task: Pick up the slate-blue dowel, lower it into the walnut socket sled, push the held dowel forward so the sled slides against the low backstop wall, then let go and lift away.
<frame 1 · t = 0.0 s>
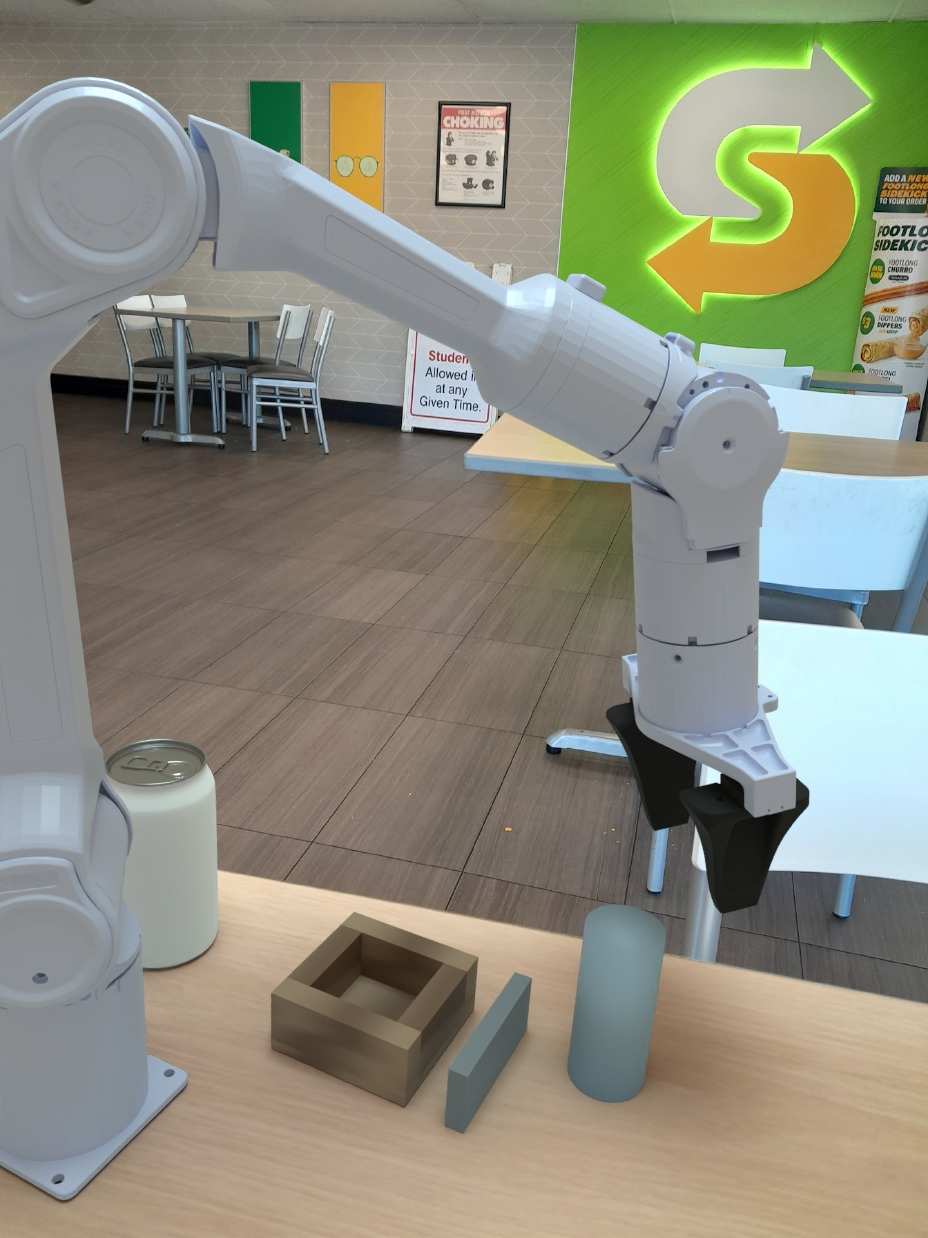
hand: (700, 862, 52), 11 cm above the table, tool pointing down, fingers open, 7 cm apart
dowel: (605, 1074, 52), on the table
backstop wall: (488, 1076, 51), on the table
can: (163, 941, 60), on the table
socket sled: (377, 1001, 53), point 2 cm above the table, slide at 0.0 cm
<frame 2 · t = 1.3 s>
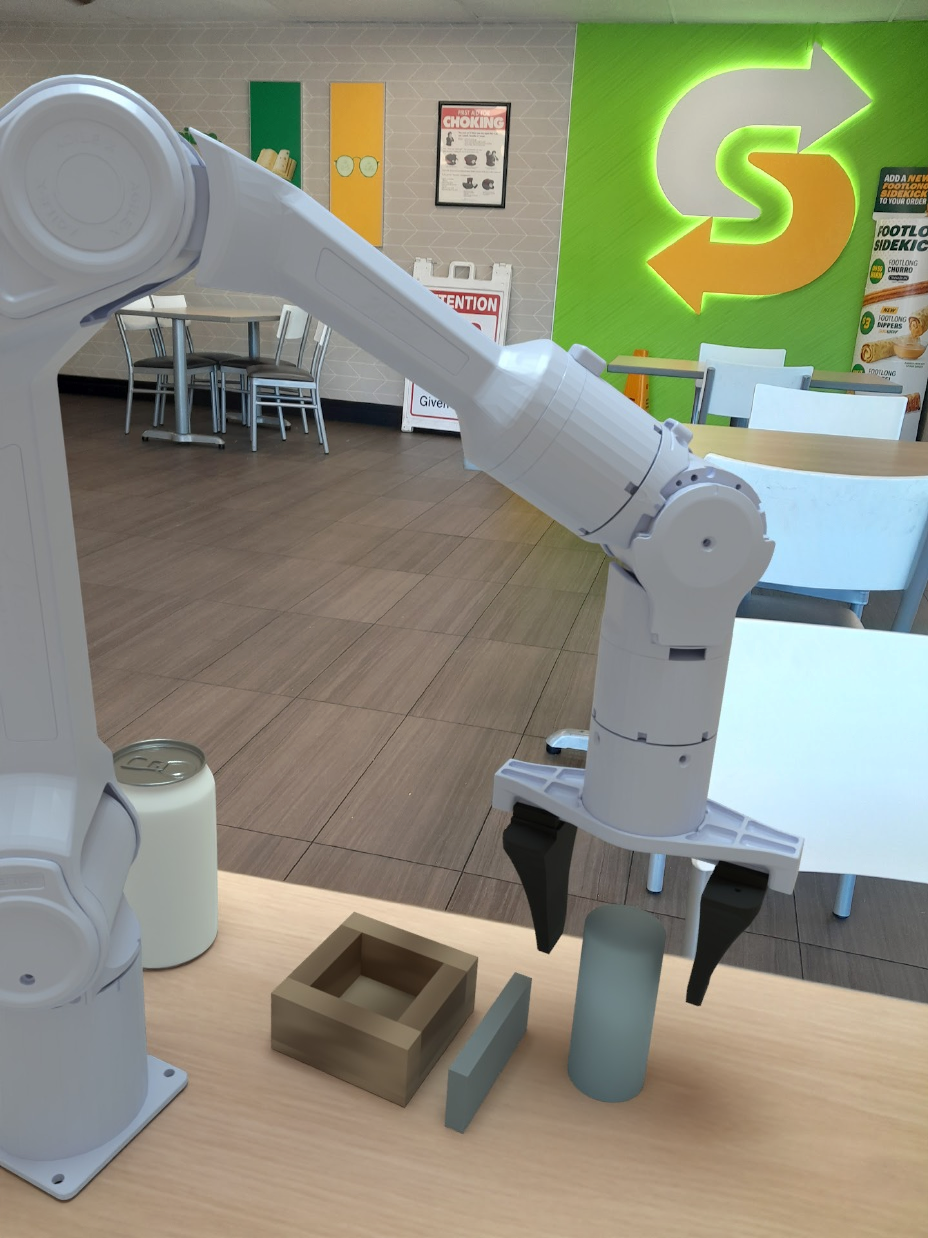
hand: (621, 966, 50), 7 cm above the table, tool pointing down, fingers open, 7 cm apart
nothing on the table moved.
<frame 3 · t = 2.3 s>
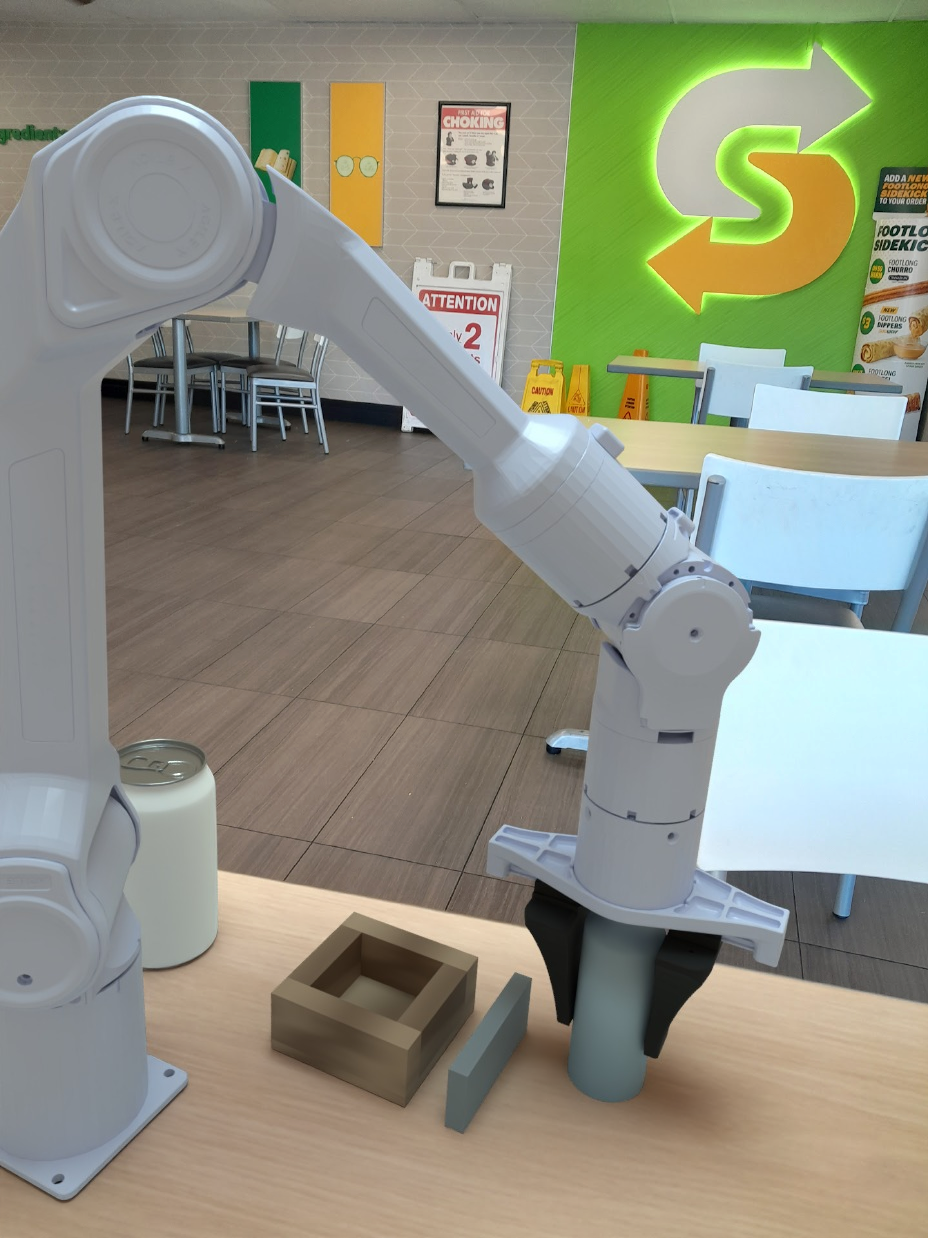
hand: (611, 1028, 51), 3 cm above the table, tool pointing down, fingers closed on dowel, 4 cm apart
dowel: (605, 1073, 52), on the table, touching gripper
everything else where it was.
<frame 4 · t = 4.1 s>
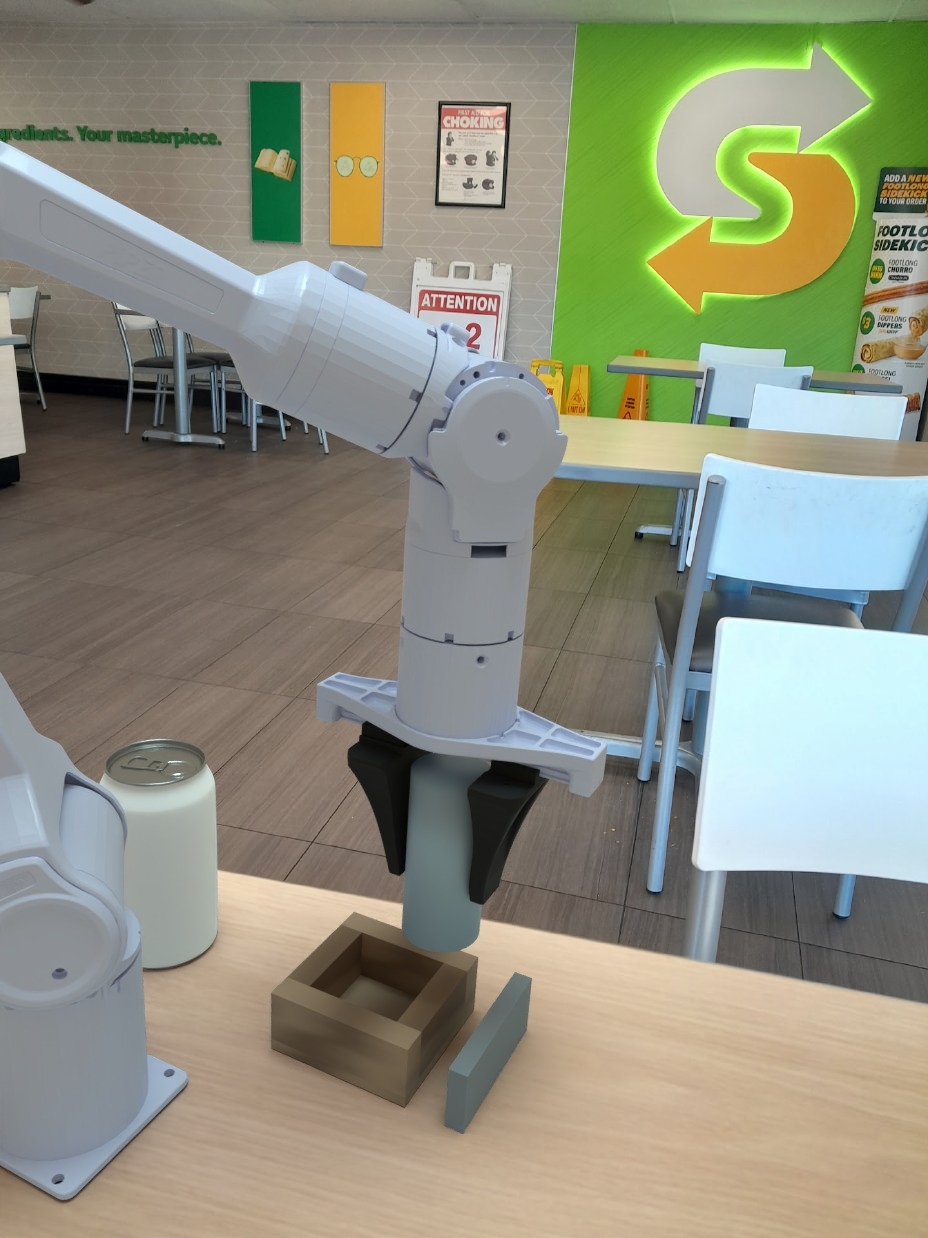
hand: (443, 879, 50), 10 cm above the table, tool pointing down, fingers closed on dowel, 4 cm apart
dowel: (440, 927, 51), point 7 cm above the table, touching gripper
everything else where it was.
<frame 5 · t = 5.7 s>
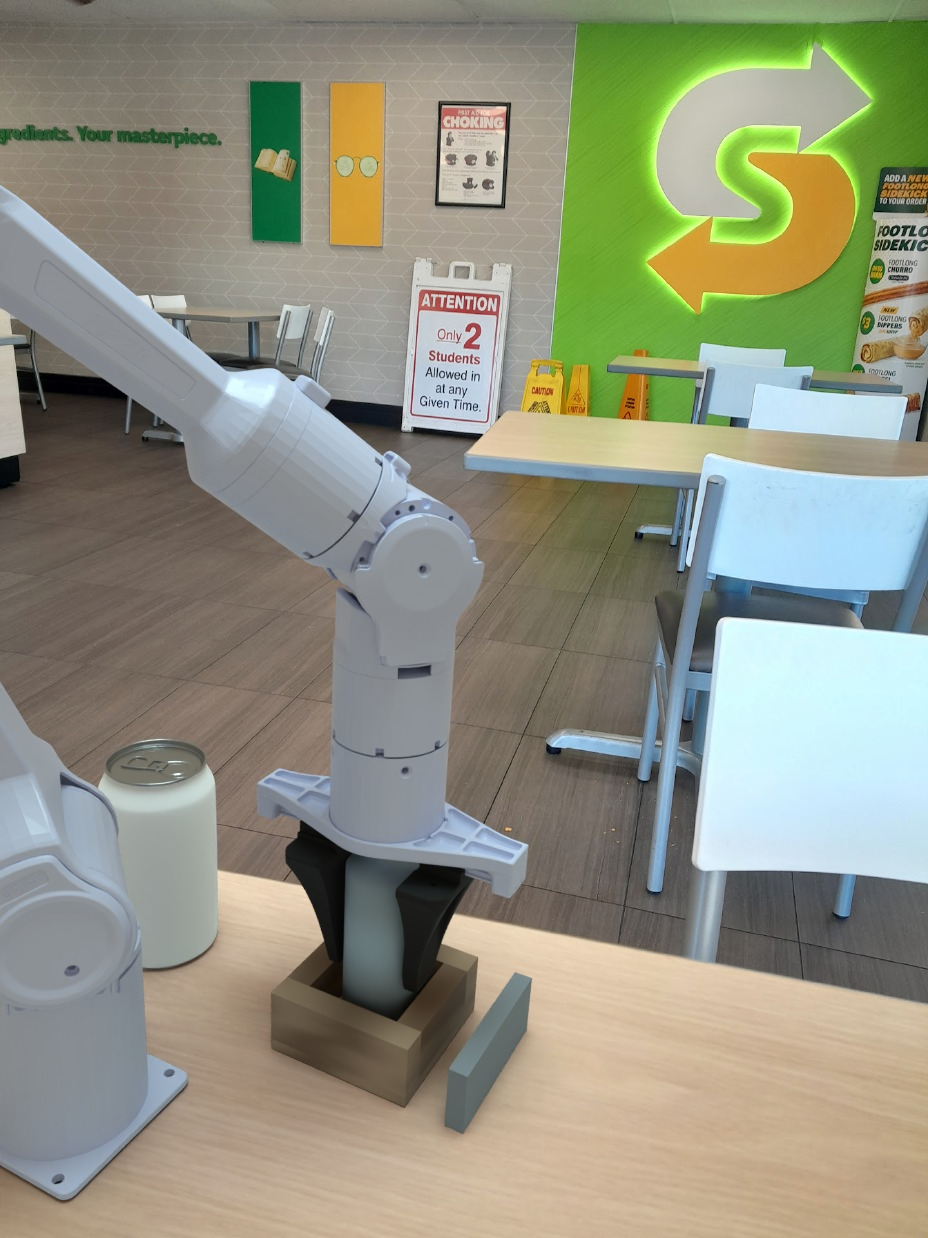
hand: (380, 965, 52), 4 cm above the table, tool pointing down, fingers closed on dowel, 4 cm apart
dowel: (379, 1009, 53), point 1 cm above the table, touching gripper
everything else where it was.
when the fingers open (4 cm above the table, at t = 7.3 s): dowel stays where it is, point 1 cm above the table.
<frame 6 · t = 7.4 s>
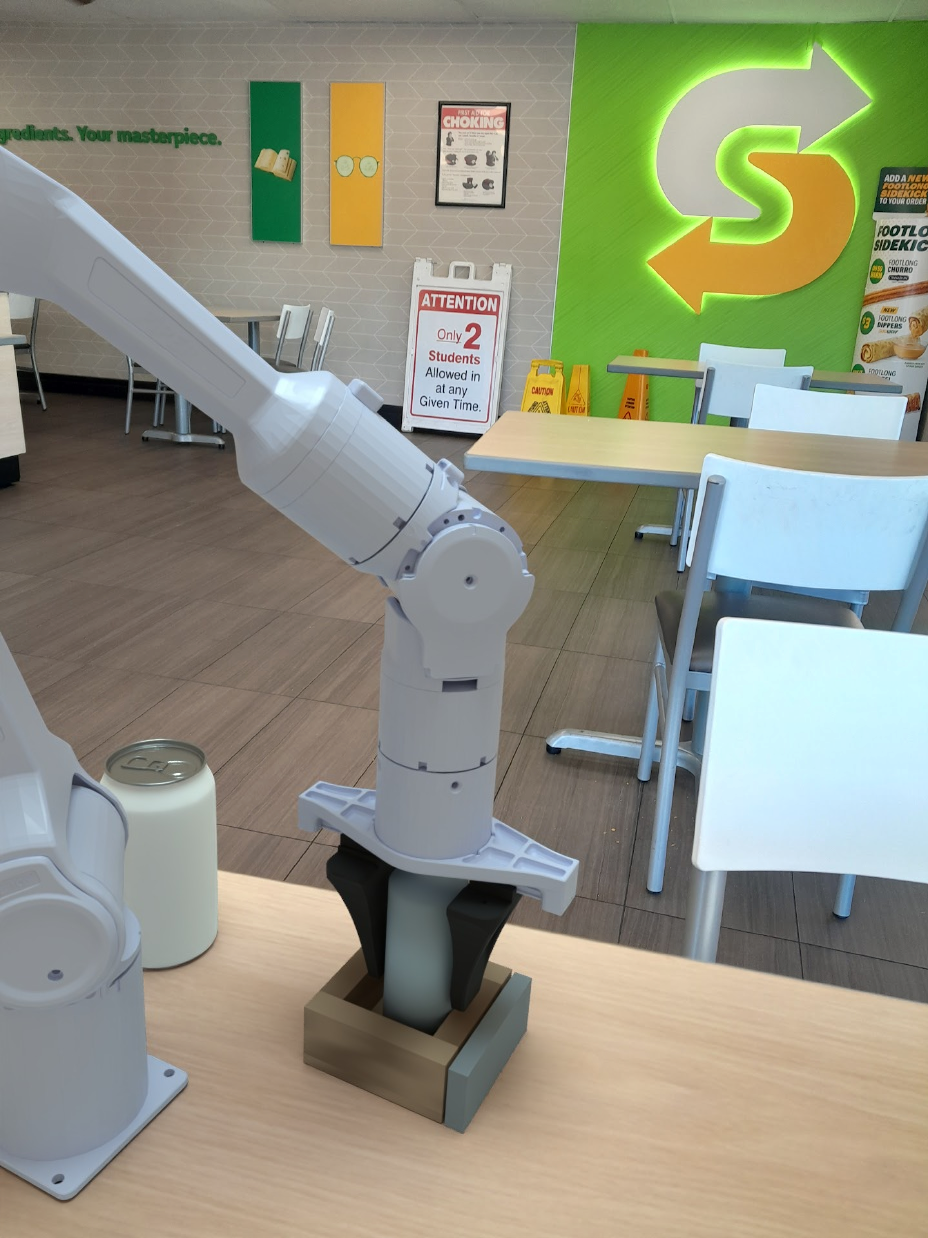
hand: (423, 982, 51), 4 cm above the table, tool pointing down, fingers open, 4 cm apart
dowel: (419, 1028, 52), point 1 cm above the table
socket sled: (410, 1014, 52), point 2 cm above the table, slide at 2.0 cm
everything else where it was.
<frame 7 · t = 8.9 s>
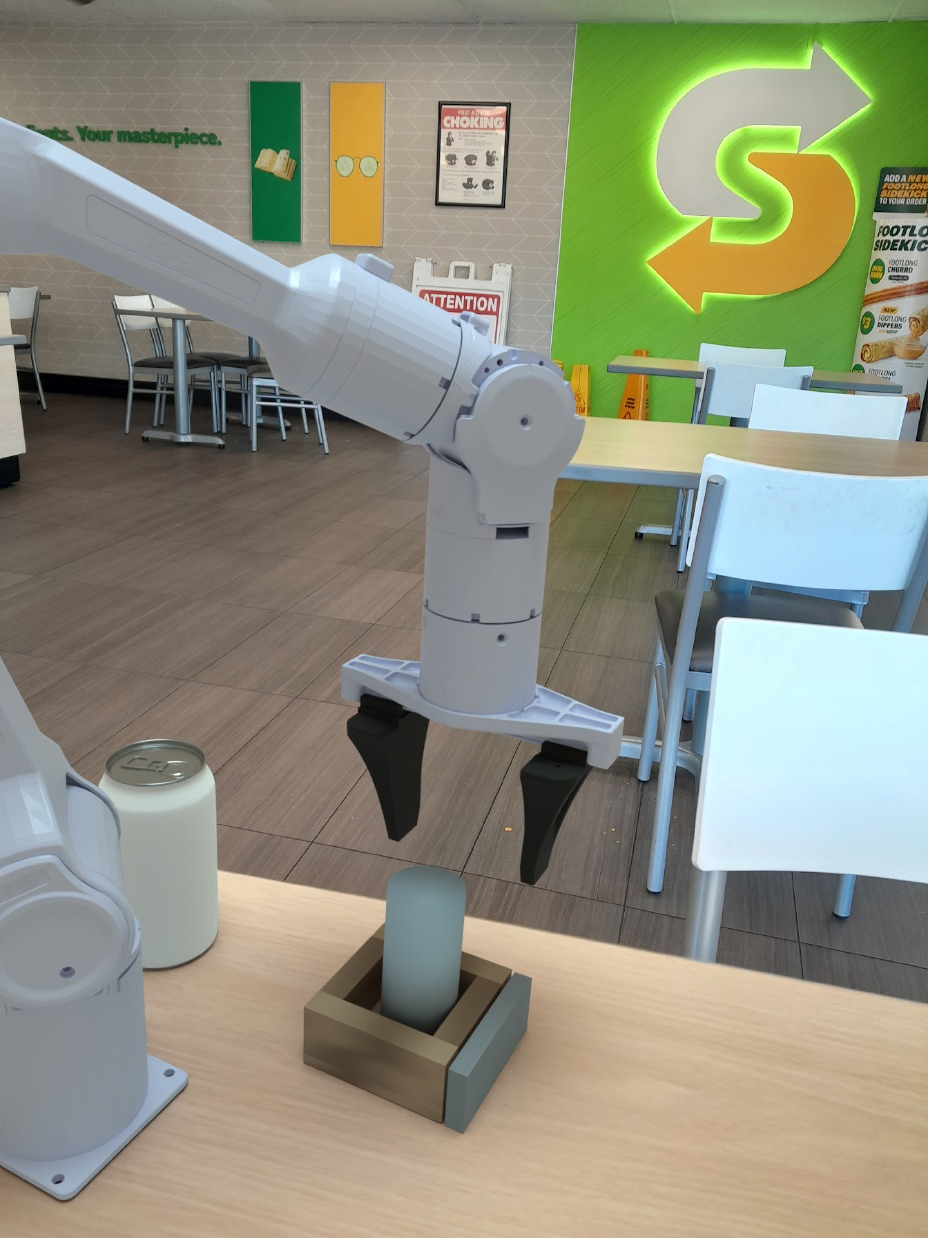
hand: (466, 852, 52), 11 cm above the table, tool pointing down, fingers open, 7 cm apart
dowel: (416, 1033, 53), point 1 cm above the table, touching socket sled
socket sled: (410, 1014, 52), point 2 cm above the table, slide at 2.0 cm, touching dowel
everything else where it was.
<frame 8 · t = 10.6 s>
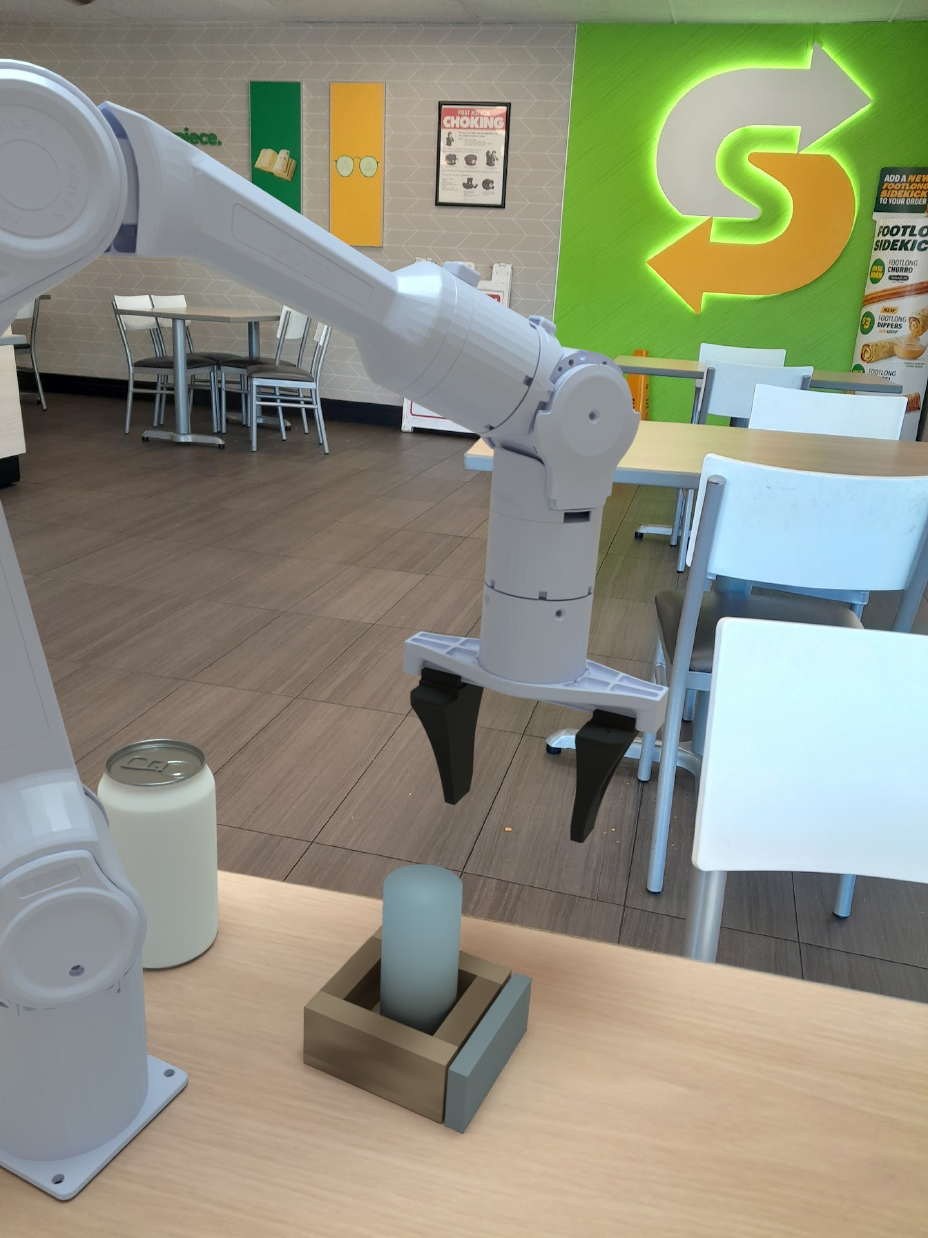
hand: (517, 814, 56), 10 cm above the table, tool pointing down, fingers open, 7 cm apart
nothing on the table moved.
at the end: socket sled slide at 2.0 cm; dowel 0.1 cm from the target spot, point 0.8 cm above the table; dowel tilted 2° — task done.
